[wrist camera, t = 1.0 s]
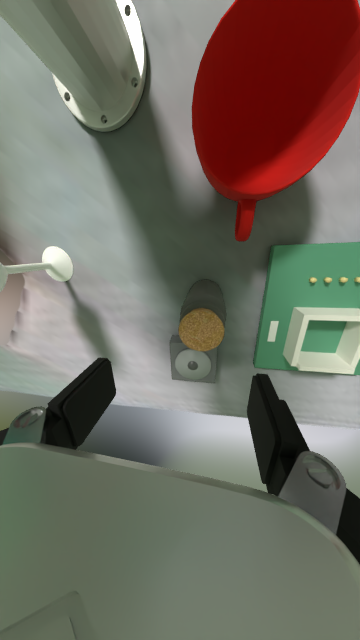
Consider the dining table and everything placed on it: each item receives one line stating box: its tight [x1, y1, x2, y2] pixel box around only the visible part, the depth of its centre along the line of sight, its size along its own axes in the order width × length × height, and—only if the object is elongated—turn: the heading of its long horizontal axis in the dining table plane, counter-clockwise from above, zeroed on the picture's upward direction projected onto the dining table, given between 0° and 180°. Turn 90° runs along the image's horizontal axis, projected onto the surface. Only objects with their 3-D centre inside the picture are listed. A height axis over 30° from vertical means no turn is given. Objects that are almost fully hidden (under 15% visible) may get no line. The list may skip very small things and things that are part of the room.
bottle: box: [179, 280, 226, 351], centre depth 24 cm, size 6×6×15 cm
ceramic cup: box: [192, 0, 360, 242], centre depth 19 cm, size 13×17×10 cm
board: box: [253, 242, 360, 375], centre depth 26 cm, size 22×18×6 cm
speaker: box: [170, 335, 217, 383], centre depth 35 cm, size 9×9×4 cm
